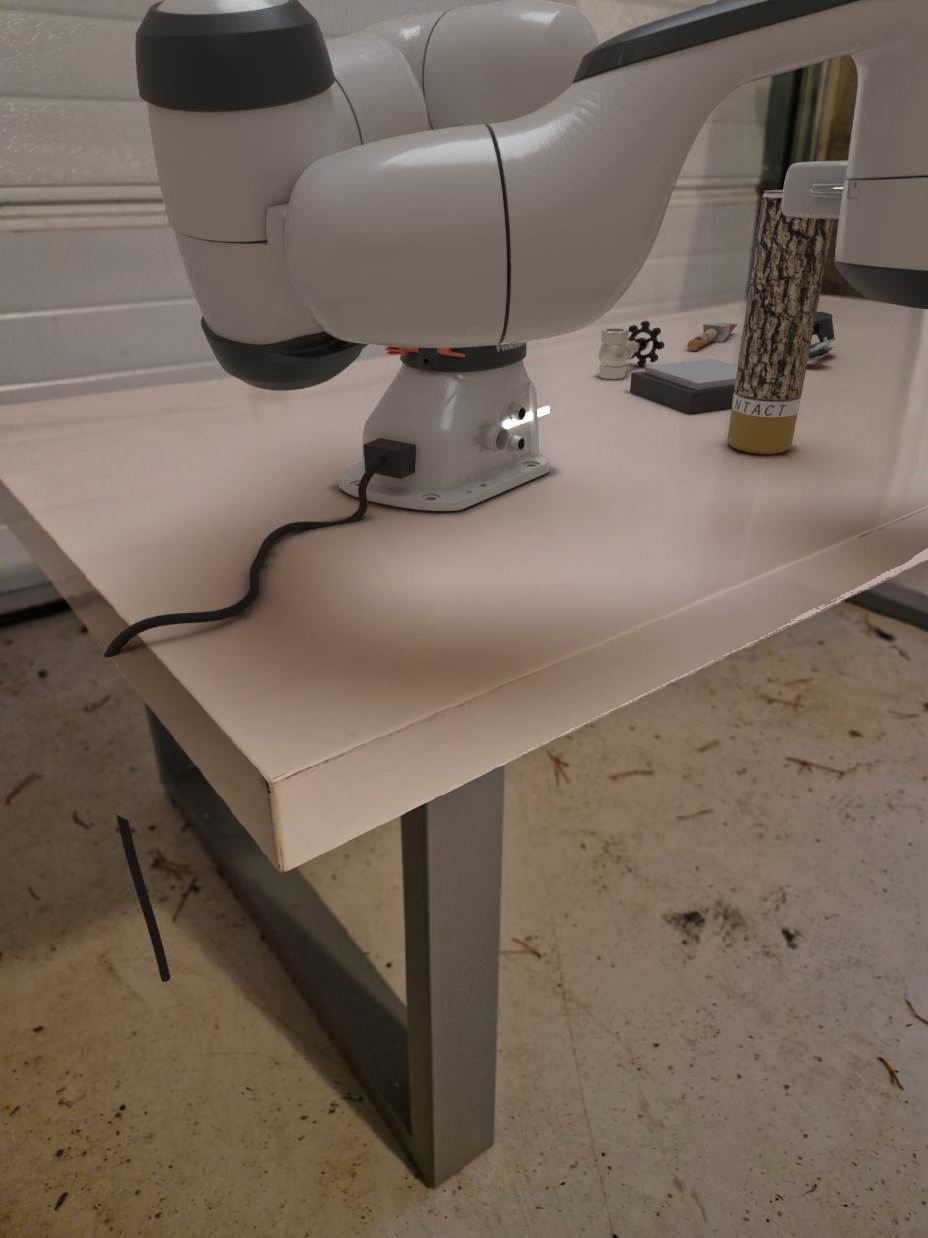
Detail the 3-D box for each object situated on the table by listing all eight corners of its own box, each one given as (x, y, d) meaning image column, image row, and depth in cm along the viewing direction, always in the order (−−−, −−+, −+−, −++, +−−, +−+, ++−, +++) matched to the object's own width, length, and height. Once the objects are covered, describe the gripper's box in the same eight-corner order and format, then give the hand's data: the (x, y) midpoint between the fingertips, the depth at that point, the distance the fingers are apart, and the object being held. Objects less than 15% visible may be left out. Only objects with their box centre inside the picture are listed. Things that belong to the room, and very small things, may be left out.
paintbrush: (742, 315, 150) (703, 338, 135) (740, 331, 151) (701, 355, 137) (721, 313, 151) (681, 335, 137) (719, 329, 153) (679, 352, 139)
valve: (625, 382, 118) (662, 367, 127) (629, 334, 115) (667, 322, 123) (584, 376, 122) (623, 362, 130) (587, 329, 119) (627, 318, 127)
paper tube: (741, 434, 95) (779, 189, 83) (800, 445, 91) (849, 189, 79) (715, 448, 90) (752, 191, 78) (777, 460, 87) (825, 192, 75)
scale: (689, 414, 103) (692, 385, 101) (629, 391, 113) (631, 365, 112) (770, 402, 108) (775, 375, 106) (706, 382, 118) (709, 356, 116)
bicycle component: (830, 355, 122) (847, 342, 133) (819, 306, 120) (838, 298, 132) (749, 379, 129) (772, 365, 141) (738, 333, 128) (762, 323, 139)
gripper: (825, 242, 56) (742, 232, 68) (1102, 240, 58) (973, 230, 70) (845, 135, 53) (755, 144, 65) (1136, 136, 55) (995, 145, 67)
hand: (870, 189), depth 68 cm, fingers open, 8 cm apart
